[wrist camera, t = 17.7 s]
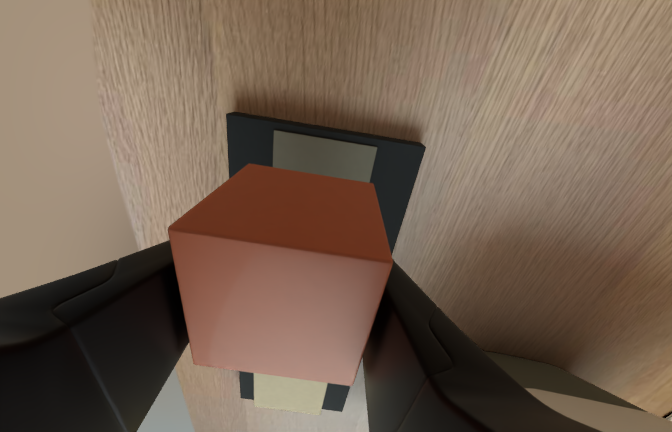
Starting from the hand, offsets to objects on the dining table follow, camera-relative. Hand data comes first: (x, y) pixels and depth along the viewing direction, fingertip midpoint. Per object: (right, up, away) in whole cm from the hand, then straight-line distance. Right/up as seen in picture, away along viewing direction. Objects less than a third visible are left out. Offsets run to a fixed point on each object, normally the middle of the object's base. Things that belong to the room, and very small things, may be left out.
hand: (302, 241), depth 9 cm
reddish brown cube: (0, 0, +1) cm, 1 cm away
